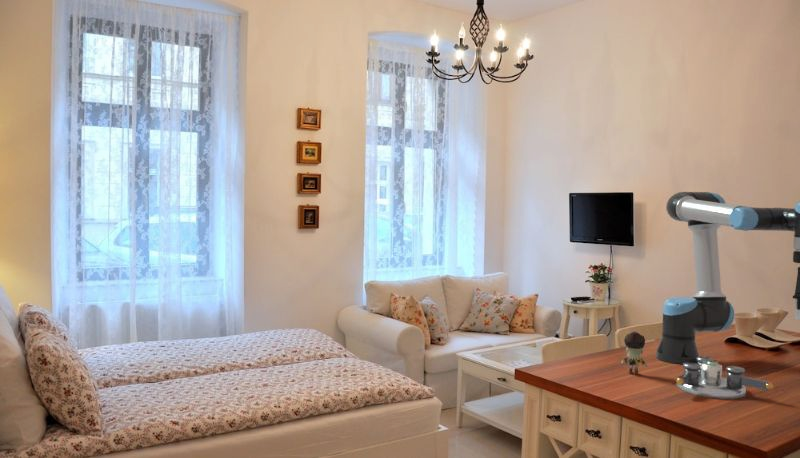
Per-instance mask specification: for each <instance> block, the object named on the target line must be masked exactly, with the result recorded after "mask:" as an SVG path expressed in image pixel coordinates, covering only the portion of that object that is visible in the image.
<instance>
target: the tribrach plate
mask: <svg viewBox="0 0 800 458" xmlns="http://www.w3.org/2000/svg"><path fill="white" fill-rule="evenodd" d="M722 372H723V364H720V363H718V364H717V363H716V362H713V361H707V362H703V363H701V377H700V376H699V384H698V385H691V384H684V385H683V386H682V385H678V384H677V383H676V387H678V389H680V390H681V391H683V392H685V393H689V394H692V395H695V396H700V397H704V398H708V399H709V398H710V399H717V400H736V399H737V400H739V399H742V398H745V397H746V394H747V386H744V385H742V389H734V388H730V387H727V377H723V376H722V375H723V373H722Z"/></svg>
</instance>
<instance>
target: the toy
mask: <svg viewBox="0 0 800 458" xmlns="http://www.w3.org/2000/svg"><path fill="white" fill-rule="evenodd" d="M645 344H646V338H645V336H644V335H642V334H640V333H639V332H638V331H632V332H630V333H628V334H626V336H624V345H625V353H626V354H627V355H626V356H625V357H624V358H623V359H622V360H621V362H620V364H622V365H623V364H626V365H628V366H629V370H628V371H629V374H630V375H632V374H633V373H634V374H635V375H638V374H639V370H638V369H639V367H638V366H639V363H641V365H642V366H643V367H645V368H647V367H648V364H647V363H646V362H645V360H644V359H643V358H642V357H641V355H643V354H644V353H643V352H644V351H645V350H644V347H645ZM633 367H634V369H633ZM633 371H634V372H633Z"/></svg>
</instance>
